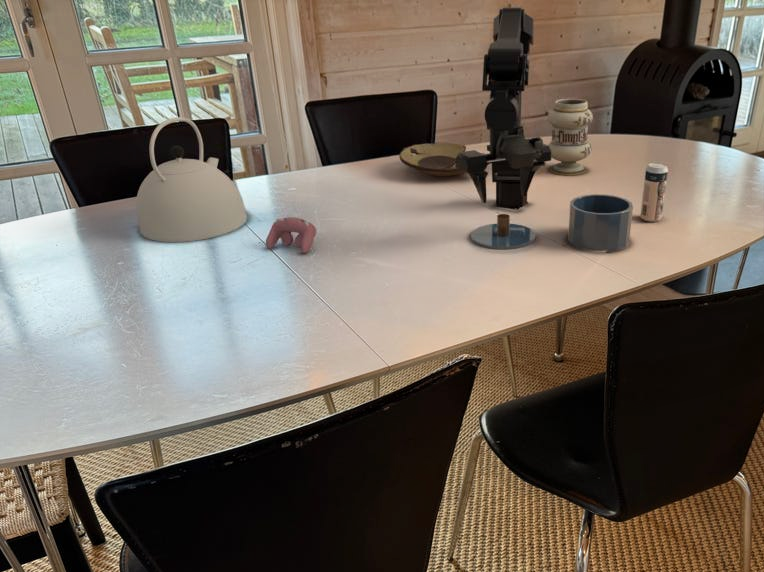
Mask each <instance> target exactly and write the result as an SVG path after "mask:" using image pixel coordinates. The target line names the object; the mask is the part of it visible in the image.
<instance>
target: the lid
mask: <svg viewBox="0 0 764 572" xmlns="http://www.w3.org/2000/svg"><path fill="white" fill-rule="evenodd" d="M510 221H511V216H510V214H507V213H500V214H497V215H496V223H490V224H485V225H482V226H479V227H477V228H475V229H473V230H472V232H471V234H470V235H471V237H470V238H471V241H472V242H473V243H474V244H476V245H478V246H480V247H482V248H483V247H484V248H487V249H492V250H515V249H520V248H524V247H527V246H530V245H531V244H533V243H534V242H535V240H536V232H535V231H534V230H533V229H532V228H530V227H528V226H526V225H521V224H518V223H511V222H510Z"/></svg>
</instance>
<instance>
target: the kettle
mask: <svg viewBox="0 0 764 572" xmlns="http://www.w3.org/2000/svg"><path fill="white" fill-rule="evenodd" d="M177 122H185V123H187V124H189V125H190V126H191V127H192V129H193V130H194V132H195V134H196V138H197V141H198V148H199V154H198V155H199V157H198V159H194V158H183V157H184V155H185V149H184V148H183V147H182V146H180V145H176V144H175V145H173V146H171V148H170V154H171V156H172V157H173V158H175V159H172V160H169V161H166V162H163V163H161V164H159V165H157V163H156V158H155V142H156V139H157V137H158V134H159V132H160V131H161V130H162V129H163V128H164V127H165V126H168V125H170V124H173V123H177ZM149 160H150V163H151V164H150V165H151V167H152V169H153V170H152V171H150V172H149V173H148V175H147V176H146V177H145V178H144V180H143V181H142V182H141V184H140V186H139V189H138V191H137V195H136V198H135V200H136V201H135V213H136V221H137V223H138V227H139V232H140V233H139V234H141V236H142V237H144V238H145V239H148V240H152V241H156V242H162V243H163V242H164V243H186V242H195V241H201V240H207V239H212V238H216V237H219V236H224V235H226V234H228V233H231V232H233V231H235V230H237V229H239V228H241V227H242V226H243V225H245V224H246V222H247V221H248V215H247V211H246V207H245V204H244V200H243V198H242V194H241V193H240V190H239V188H238V187H237V186H236V184H235V183H234V182H233V180H232V179H231V178H230V177H229V176H228V175H227V174H226V173H224V172H223V171H221V170H220V169H219V168H218V164H219V158H216V157H208V158H207V160H206V161H204V142H203V137H202V135H201V132H200V130H199V128H198V126H197V125H196V124H195V122H194V121H192V120H191V119H190V118H187V117H183V116H177V117H171V118H169V119H166V120H163V121H161V122H160V123H159V124H158V125H157V126H156V127H155V129H154V130H153V132H152V134H151V137H150V140H149Z"/></svg>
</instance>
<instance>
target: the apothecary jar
mask: <svg viewBox="0 0 764 572" xmlns="http://www.w3.org/2000/svg"><path fill="white" fill-rule="evenodd" d="M547 120H548V122H549V123H550V125H551V141H550V142H549V143H548V144H547V145H548V146H549V147H550V148H551V151H552V158H551V159H552V160H555V161H558V163H554V164H552V165H551V166H550V168H549V171H550V172H551V173H553V174H556V175H561V176H577V175H581V174H584V173H585V172H586V171H587V168H586V167H585V166H584V165H582V164H580V163H579V162H580V161H582V160H585V159H587V158H588V157H589V156H590V155H591V153H592V149H593V148H592V145H591V143H590V142H589V141H588V131H589V125H590V124H591V123H592V122H593V120H594V114H593V112H592V111H591V110H590V109H589V106H588V101H587V100H586V99H581V98H562V99H558V100H556V101H555V102H554V106H553V108H552V109H551V110H550V111H549V112H548V114H547Z"/></svg>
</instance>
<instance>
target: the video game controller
mask: <svg viewBox="0 0 764 572" xmlns="http://www.w3.org/2000/svg"><path fill="white" fill-rule="evenodd" d="M292 233H297V235H296V236H295V238H294V236H293V234H292ZM316 235H317V227H316V226H315V225H314V224H313V223H311V222H309V221H307V220H305V219H303V218H300V217H289V216H288V217H282V218H277V219H276V221H274V222H273V224H272V226H271V227H270V230H269V232H268V235H267V236H266V239H265V246H266V248H267V249H269V250H271V249H273V248H274V247H275V246H276V244H277V242H279V240H280V241H281V243H282V244H283V245H285V246H291V245H293V244H294V245H296V246H297V247H300V250H301V252H302V253H303V254H307V253H308V252H309V251H310V250H311V248H312V247H313V244H314V240H315V237H316Z"/></svg>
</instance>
